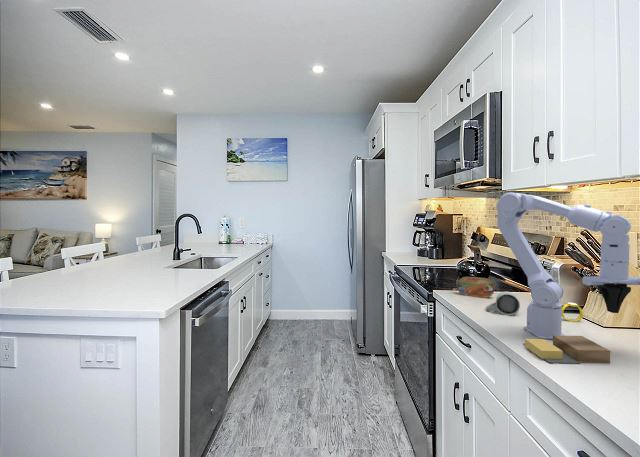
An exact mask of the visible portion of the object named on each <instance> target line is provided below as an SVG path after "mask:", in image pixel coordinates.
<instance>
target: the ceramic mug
mask: <svg viewBox="0 0 640 457" xmlns="http://www.w3.org/2000/svg"><path fill="white" fill-rule="evenodd" d="M520 307H521V303H520V300H519V299H518V297H517V295H516V294H515V293H513V292H510V291H501V292H500V293H499V294H498V295H497V296H496V297H495V302H493V303H490V304H488V305H486V307H485V308H486V311H488V312H493V311H496V310H497V311H498V312H499V313H500V314H502V315H503V316H504V315H505V316H514V315H515V314H517V313H518V312H519V310H520Z"/></svg>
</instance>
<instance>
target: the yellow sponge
mask: <svg viewBox="0 0 640 457" xmlns="http://www.w3.org/2000/svg"><path fill="white" fill-rule="evenodd" d="M524 343H525V345H524V347H525V348H527V349H528V350H529V351H531V352H532V353H533V354H534V355H536V356H537V357H539V359H542V360H544V359H563V351H562V350H560V349H559V348H557V347H556V346H554V345H553V343H551V342H549V341H548V340H547V339H541V338H524Z"/></svg>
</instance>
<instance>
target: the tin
mask: <svg viewBox="0 0 640 457" xmlns="http://www.w3.org/2000/svg"><path fill="white" fill-rule="evenodd" d="M456 288H457V291H458V293H459V294H461V296H464V297H474V298H483V299H486V298H490V297H491V296H492V295H493V294H494V293H495V290H496V287H495V284H494V283H493V281H492V280H491V279H489V278H486V277H476V276H462V277H461V278H459V279H458V280H457V283H456Z"/></svg>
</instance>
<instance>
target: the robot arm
mask: <svg viewBox="0 0 640 457" xmlns="http://www.w3.org/2000/svg"><path fill="white" fill-rule="evenodd" d="M495 207H496V211H497V228H498V230H499V231H500V233H501V235H502V237H503V239H504V240H505V242H506V244H507V245H508V247H509V248H510V250H511V252H512V253H513V255H514V257H515V259H516V260H517V262H518V264H519V265H520V268H521V269H522V270H523V273H524V275H526V278H527V285H528V287H529V289H530V293H531V295H530V296H531V299H532V301H531V302H530V303H529V304H528V305H527V308H526V326H523V329H525V330H526V331H527V332H528V333H531V334H533V335H534V336H535V337H537V338H538V339H545V340H553V335H560V336H566V335H565V334H563V333H562V326H563V325H562V320H563V317H562V307H563V305H562V304H563V303H561V302H560V300H561V299H562V298H563V297H564V288H563V286H562V285H561V284H560V283H558V282H557V281H556V280H554V278H553V277H552V275H551V274H549V272H547V271H546V270H545V268H544V266H543V265H542V263H541V261H540V260H539V258H538V257H537V254H536V253H535V251H534V250H533V248H532V247H531V244H530V243H529V241H528V240H527V238H526V237H525V235H524V234H523V232H522V230H521V229H520V226H518V224H519V222H520V220H521V218H522V216H523V215H524V213H526V211H527V210H528V211H529V210H530V211H531V210H532V211H533V210H540V211H543V212H547V213H550V214H552V215H553V214H554V215H556V216H561V217H565V218H566V219H567V220H568V222H569V224H570V225H574V226H576V227H580V228H582V229H583V228H584V229H585V230H589V231H592V232H594V233H597V232H600V233H601V234H602V235H601V236H602V237H601V243H600V267H599V270H600V271H599V274H600V275H594V276H592V275H591V276H582V285H585V286H596V287H597V289H598V290H599V292H600V294H601V296H602V297H603V301H604V303H605V306H606V311H607V312H609V313H612V314H619V312H620V309H621V307H622V305H623V302H624V300H625V299H626V297H627V296H628V295H629V293H631V292H632V287H631V286H640V276H629V272H630V271H629V270H630V269H629V268H630V267H629V266H630V247H631V246H630V236H629V235H630V234H629V233H630V232H631V229H632V224H631V221H630V220H629V219H628V218H626V217H625V216H623V215H622V214H621V215H620V214H614V215H613V214H612V213H613V211H609V210H607V211H603V210H601V209H597V208H593V207H592V205H590V204H587V203H585V204H583V205H582V204H577V205H574V206H573V207H572V206H569V205H566V204H563V203H561V202H557V201H554V200H551V199H548V198H544V197H542V196H539V195H538V196H537V195H532V194H525V193H522V192H521V193H520V192H519V193H518V192H516V193H515V192H512V191H511V192H505V193H503V194H502V195H501V196H500V198H499V199H498V201H497V203H496V206H495Z"/></svg>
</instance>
